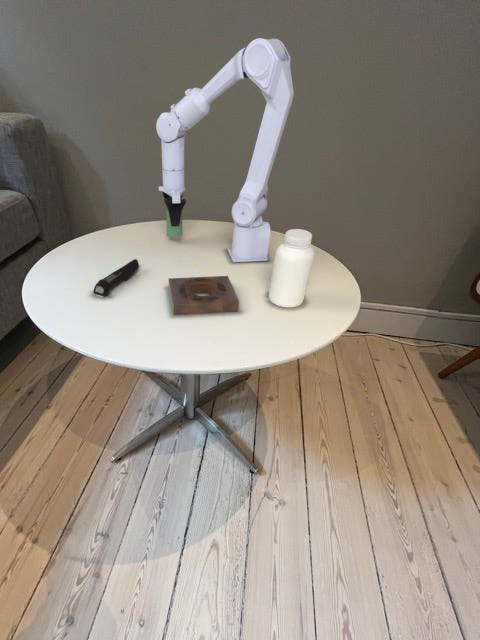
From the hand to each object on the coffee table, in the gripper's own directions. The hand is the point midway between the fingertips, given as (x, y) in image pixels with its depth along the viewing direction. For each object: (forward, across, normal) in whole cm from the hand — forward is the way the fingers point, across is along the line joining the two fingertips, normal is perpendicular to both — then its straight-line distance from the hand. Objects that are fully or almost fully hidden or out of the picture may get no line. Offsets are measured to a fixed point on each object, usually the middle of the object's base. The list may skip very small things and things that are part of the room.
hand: (174, 222), depth 108 cm
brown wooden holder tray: (+5, +34, +3) cm, 35 cm away
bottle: (+3, 0, 0) cm, 3 cm away
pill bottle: (+6, +36, +22) cm, 43 cm away
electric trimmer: (+6, +24, -16) cm, 29 cm away
